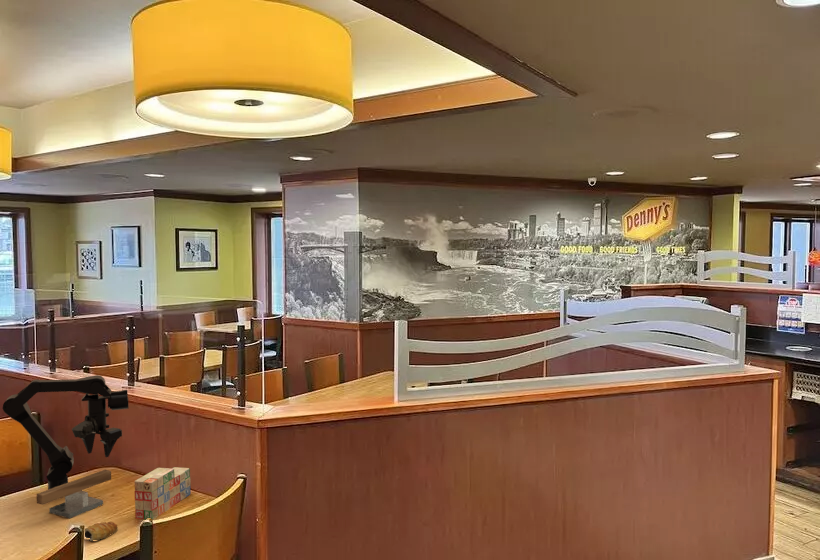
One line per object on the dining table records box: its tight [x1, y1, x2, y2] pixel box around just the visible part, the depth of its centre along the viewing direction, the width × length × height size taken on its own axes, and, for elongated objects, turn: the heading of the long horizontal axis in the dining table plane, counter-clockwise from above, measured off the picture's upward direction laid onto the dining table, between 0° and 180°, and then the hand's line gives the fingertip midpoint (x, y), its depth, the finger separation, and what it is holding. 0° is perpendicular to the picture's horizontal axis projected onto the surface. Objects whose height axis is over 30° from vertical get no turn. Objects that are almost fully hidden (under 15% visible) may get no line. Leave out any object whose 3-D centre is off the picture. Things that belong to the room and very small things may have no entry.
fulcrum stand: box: [48, 490, 104, 519], centre depth 203 cm, size 10×12×6 cm
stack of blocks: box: [134, 466, 192, 520], centre depth 205 cm, size 21×6×12 cm, turn 167°
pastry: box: [84, 521, 119, 542], centre depth 185 cm, size 9×7×4 cm
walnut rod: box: [35, 469, 112, 506], centre depth 203 cm, size 3×24×3 cm, turn 153°
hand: (98, 455), depth 220 cm, fingers open, 9 cm apart
